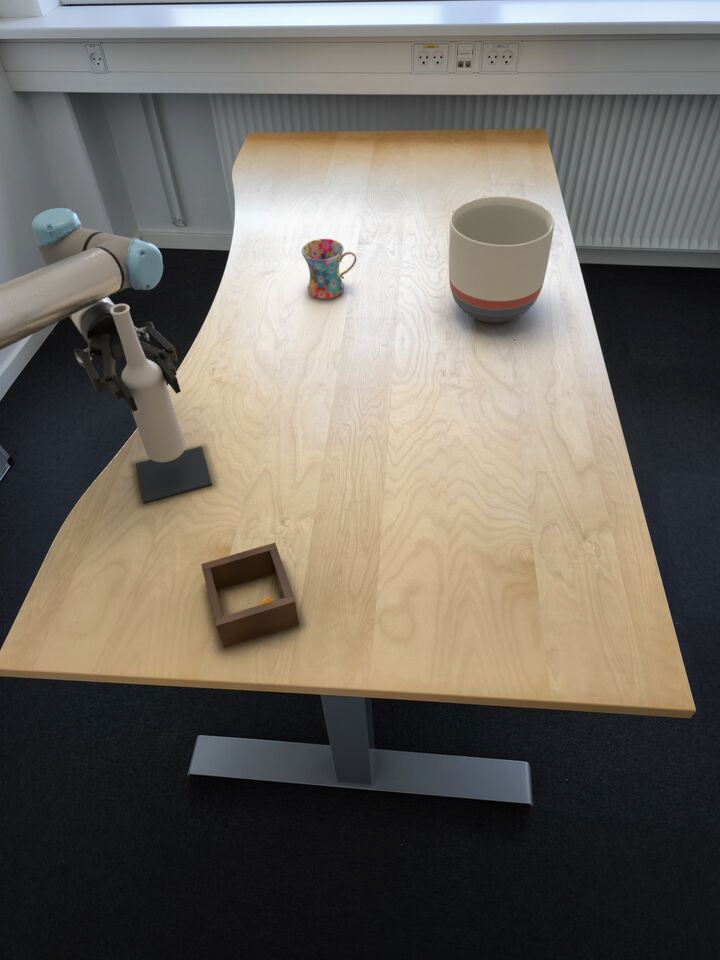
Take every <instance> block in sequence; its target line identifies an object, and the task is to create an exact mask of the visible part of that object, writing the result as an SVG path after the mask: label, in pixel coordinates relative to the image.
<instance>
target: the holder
mask: <svg viewBox="0 0 720 960" xmlns="http://www.w3.org/2000/svg"><path fill="white" fill-rule="evenodd" d="M200 565H201V570H202V574H203V578H204V582H205V586H206V591H207V595H208V599H209V603H210V607H211V611H212V615H213V620H214V624H215V628H216V631H217V633H218V636H219V639H220V642H221V644H222V647H223V649H225V648H229V647H232V646H235V645H238V644H241V643H245V642H247V641H250V640H251V641H252V640H254V639H258V638H260V637H263V636H267V635H270V634H273V633H276V632H279V631H283V630H286V629H289V628H292V627H296V626H298V625H300V620H299V614H298V608H297V604H296V601H295V600H296V599H295V597H294V594H293V591H292V587H291V585H290V582H289V580H288V576H287V573H286V570H285V566H284V565H283V562H282V558H281V555H280V553H279V550H278V546H277V543H276V542H271V543H269V544H264V545H262V546H258V547H254V548H251V549H248V550H244V551H241V552H238V553H234V554H231V555H227V556H224V557H220V558H217V559H214V560H209V561H207V562H203V563H201V564H200ZM272 575H274V576H275V579H276V582H277V586H278V590H279V592H280V596H281V598H278V599H275V600H272V601H269V602H265V603H263V604H259V605H256V606H253V607H250V608H246V609H243V610H239V611H236V612H233V613H230V614H226V615H225V613H224V609H223V606H222V601H221V597H220V593H219V591H222V590H226V589H229V588H231V587H232V588H233V587H236V586H239V585H242V584H245V583H249V582H253V581H255V580H259V579H263V578H265V577H270V576H272Z"/></svg>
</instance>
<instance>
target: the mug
mask: <svg viewBox="0 0 720 960" xmlns="http://www.w3.org/2000/svg"><path fill="white" fill-rule="evenodd" d="M344 250H345V249H344V246H343V244H342V243H341V242H339V241H338V240H335V239H332V238H319V239H314V240H311V241H308V242H307V243H305V244H304V245H303V246H302V248H301V255H302V256H303V258H304V260H305V262H306V264H307V267H308V270H309V282H308V285H307V292H308V294H309V295H311V296H312V297H314V298H317V299H323V300H326V299H327V300H328V299H333V298H336V297H338V296H339V295H341V294H342V293H343V292H344V290H345V283H344V282H343V281H342V280H344V279H345V276H344V275H345V274H347V273H349V272H350V271H351V270H352V269H353V268H354V266H355V265H356V262H357V255H356V253H355V252H352V251H346V252H344ZM348 255H351V256H353V257H354V260H353V262H352V264H351V265H350V266H349V267H348V268H347V269H346V270H344V271H342V272H341V273H340V263H342V260H343V258H345V256H348Z"/></svg>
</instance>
